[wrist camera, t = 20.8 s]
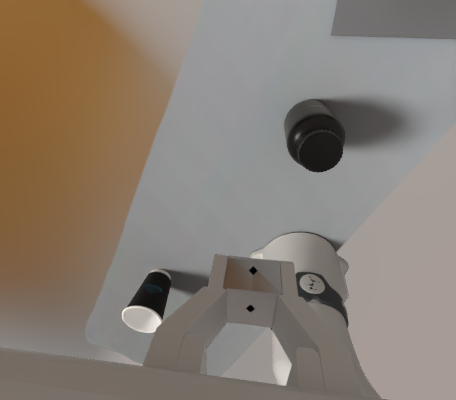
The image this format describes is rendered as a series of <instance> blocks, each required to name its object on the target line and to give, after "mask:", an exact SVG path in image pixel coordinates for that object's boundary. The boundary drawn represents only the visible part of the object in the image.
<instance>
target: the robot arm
mask: <svg viewBox="0 0 456 400" xmlns="http://www.w3.org/2000/svg"><path fill="white" fill-rule="evenodd" d="M347 270H348V263H347V262H346V261H345V260H344V259H342V258H341V257H339V256H338V255H337V253H336V251H335V250H334V248H333V246H332V245H331V244H330V243H329V242H328V241H326V240H325V239H323V238H322V237H319V236H317V235H314V234H310V233H290V234H286V235H283V236H280V237H278V238H276V239H274V240H273V241H272V242H270V243H269V244H268V245H267V246H266V247H265V248H263V249H260V250H258V251H255V252H253V253H252V254H251V256H250V258H245V257H237V256H226V255H219V254H216V255H215V257H214V260H213V265H212V269H211V274H210V278H209V282H208V287H205V286H204V287H202V288H201V289H200V290H199V291H198V292H197V293H196V294H194V295H193V296H192V297H191V298H190V299H189V300H188V301H186V302H185V303H184V304H183V305H182V306H181V307H180V308H179V309H177V310H176V311H175V312H174V313H173V314H172V315H171V316H169V317H168V318H167V319H166V320H165V321H164V322H163V323H161V324H160V325H159V326H158V327H157V328H156V331H155V334H154V336H153V339H152V342H151V344H150V347H149V350H148V352H147V355H146V358H145V360H144V363H143V366H137V365H130V364H123V363H116V362H109V361H101V360H94V359H87V358H79V357H72V356H65V355H57V354H50V353H43V352H36V351H28V350H22V349H14V348H7V347H0V400H386V399H382V398H381V397H380V396H379V394H378V393H377V392H376V391H375V390H374V388H373V387H372V385H371V384H370V383H369V381H368V379H367V378H366V376H365V374H364V372H363V370H362V368H361V366H360V363H359V361H358V358H357V355H356V353H355V350H354V347H353V344H352V341H351V338H350V335H349V332H348V318H347V317H348V316H347V311H346V307H345V306H344V302H345V301H346V299H347V298H348V290H347V286H346V281H345V277H344V275H345V273H346V272H347ZM226 322H228V323H239V324H249V325H256V326H263V327H270V328H271V330H272V354H273V372H274V375H275V378H276V381H277V383H278V385H276V384H269V383H262V382H254V381H247V380H240V379H232V378H225V377H218V376H211V375H207V367H206V349H207V347H208V346H209V345H210V344H211V342H212V341H213V340H214V338H215V337H216V336H217V335H218V333H219V332H220V331H221V330H222V328H223V327H224V326H225V324H226Z"/></svg>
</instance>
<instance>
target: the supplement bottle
mask: <svg viewBox="0 0 456 400" xmlns="http://www.w3.org/2000/svg"><path fill="white" fill-rule="evenodd" d="M284 128H285V136H286V142H287V148H288V151H289V154H290V155H291V157H292V158H293V159H294V160H295V161H296V162H297V163H298V164H300V165H302V166H303V167H305V168H306V169H308V170H309V171H313V172H323V171H327V170H330V169H331V168H333V167H334V166H335V165H337V163H338V162H339V161H340V159H341V157H342V154H343V147H344V144H345V131H344V128H343V126H342V124H341V123H340V121H339V120H338V119H337V118H336V116H335V115H334V114H333V113H332V111H331V110H330V109H329V108H328V107H327V106H326V105H325V104H324V103H322V102H320V101H317V100H305V101H302V102H300V103H298V104H296V105H295V106H294V107H293V108H292V109H291V110H290V111H289V112H288V114H287V116H286V119H285V124H284Z"/></svg>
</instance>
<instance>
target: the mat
mask: <svg viewBox="0 0 456 400" xmlns="http://www.w3.org/2000/svg"><path fill="white" fill-rule="evenodd" d="M331 35H335V36H369V37H404V38H438V39H456V0H338V2H337V7H336V12H335V17H334V22H333V28H332V33H331Z"/></svg>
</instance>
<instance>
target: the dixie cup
mask: <svg viewBox="0 0 456 400" xmlns="http://www.w3.org/2000/svg"><path fill="white" fill-rule="evenodd" d="M170 285H171V276H170V274H169V273H168V272H166V271H165V270H162V269H155V270H153V271H151V273H149V274H148V276H147V277H146V279H145V280H144V282H143V283H142V285H141V287H140V288H139V290H138V291H137V293H136V294H135V296H134V297H133V299H132V300H131V302H130V304H129V305H128V307H127V308H125V309H124V310H123V312H122V318H123V321H124V322H125V323H126V324H127V325H128V326H129V327H131V328H132V329H134V330H137V331H140V332H145V333H152V332H155V331H156V328H157V327H158V326H159V325H160V324H161V323H163V322H162V319H163V315H164V310H165V306H166V302H167V298H168V294H169V289H170Z"/></svg>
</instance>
